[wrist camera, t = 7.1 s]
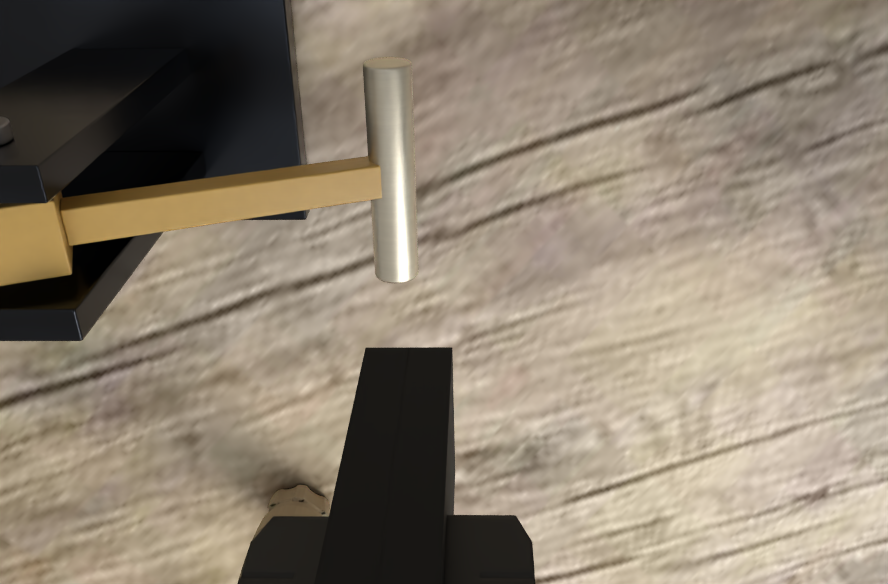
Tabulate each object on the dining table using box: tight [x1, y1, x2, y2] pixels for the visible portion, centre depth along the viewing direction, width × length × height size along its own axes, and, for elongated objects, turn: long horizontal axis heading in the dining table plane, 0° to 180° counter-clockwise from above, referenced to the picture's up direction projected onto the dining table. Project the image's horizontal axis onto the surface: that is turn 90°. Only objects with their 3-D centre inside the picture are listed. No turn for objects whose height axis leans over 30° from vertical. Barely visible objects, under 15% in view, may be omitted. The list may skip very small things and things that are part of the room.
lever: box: [0, 57, 418, 286], centre depth 25 cm, size 13×7×2 cm, turn 91°
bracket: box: [0, 0, 310, 341], centre depth 28 cm, size 12×9×14 cm
